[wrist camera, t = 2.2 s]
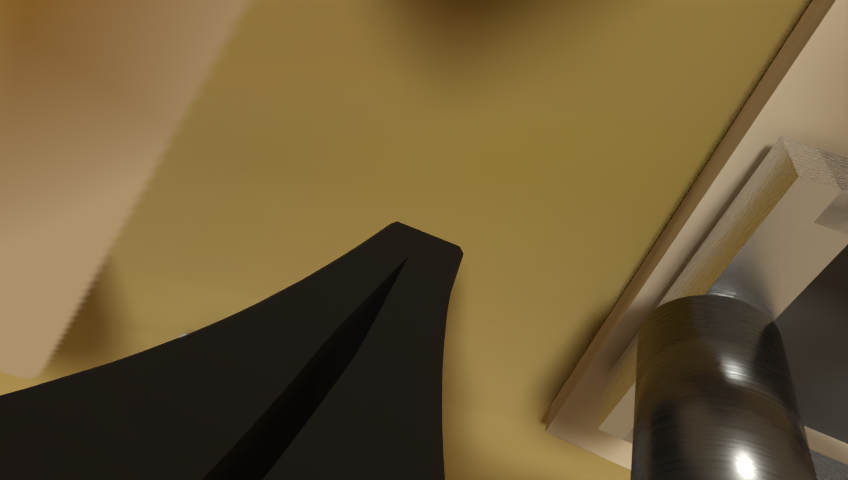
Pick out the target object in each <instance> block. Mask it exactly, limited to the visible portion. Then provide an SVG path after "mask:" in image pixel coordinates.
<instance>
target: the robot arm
mask: <svg viewBox="0 0 848 480" xmlns="http://www.w3.org/2000/svg"><path fill="white" fill-rule="evenodd" d="M462 257H463V252H462V250H461V248H460V246H457V245H455V244H452V243H450V242H447V241H445V240H442V239H440V238H437V237H435V236H432V235H430V234H427V233H425V232H422V231H420V230H417V229H415V228H412V227H410V226H407V225H405V224H402V223H400V222H394V223H392V224H390V225H388V226H387V227H385V228H384V229H382V230H381V231H380V232H378V233H377V234H375V235H374V236H372V237H371V238H369V239H368V240H366V241H365V242H363V243H362V244H360V245H359V246H357V247H356V248H354V249H352V250H351V251H349V252H348V253H346V254H345V255H343V256H341V257H340V258H338V259H336V260H335V261H333V262H331V263H330V264H328V265H326V266H325V267H323V268H321V269H320V270H318V271H316V272H315V273H313V274H311V275H310V276H308V277H306V278H304V279H303V280H301V281H299V282H297V283H295V284H293V285H291V286H289V287H288V288H286V289H284V290H282V291H280V292H278V293H276V294H274V295H272V296H270V297H268V298H267V299H265V300H263V301H261V302H259V303H257V304H255V305H253V306H251V307H249V308H247V309H244V310H242V311H240V312H238V313H236V314H234V315H232V316H229V317H227V318H225V319H223V320H221V321H218V322H216V323H214V324H211V325H209V326H207V327H204V328H202V329H200V330H197V331H195V332H192V333H190V334H182V335H181V336H180V337H179V338H177V339H174V340H172V341H169V342H166V343H164V344H161V345H159V346H156V347H153V348H151V349H148V350H145V351H143V352H140V353H137V354H134V355H131V356H129V357H126V358H123V359H120V360H117V361H114V362H111V363H108V364H105V365H102V366H98V367H95V368H92V369H89V370H85V371H82V372H79V373H75V374H72V375H69V376H66V377H62V378H59V379H56V380H52V381H49V382H46V383H43V384H39V385H36V386H33V387H30V388H26V389H22V390H19V391H15V392H12V393H8V394H4V395H1V396H0V480H445V475H444V460H443V437H442V368H443V349H444V338H445V328H446V318H447V310H448V303H449V298H450V293H451V290H452V287H453V284H454V281H455V278H456V275H457V272H458V269H459V266H460V263H461V260H462Z"/></svg>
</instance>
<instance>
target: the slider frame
mask: <svg viewBox="0 0 848 480" xmlns="http://www.w3.org/2000/svg"><path fill="white" fill-rule="evenodd" d="M847 244H848V158H847V157H844V156H841V155H838V154H835V153H832V152H829V151H826V150H823V149H820V148H817V147H814V146H811V145H808V144H805V143H802V142H799V141H796V140H793V139H790V138H787V137H783V136H780V138H779V139H778V140H777V142H776V143H775V145H774V146H773V147H772V149H771V150H770V151H769V153H768V154H767V156H766V157H765V158H764V160H763V161H762V162H761V164H760V165H759V167H758V168H757V169H756V171H755V172H754V173H753V175H752V176H751V178H750V179H749V180H748V182H747V183H746V185H745V186H744V187H743V189H742V190H741V191H740V193H739V194H738V196H737V197H736V198H735V200H734V201H733V202H732V204H731V205H730V207H729V208H728V209H727V211H726V212H725V213H724V215H723V216H722V218H721V219H720V220H719V222H718V223H717V225H716V226H715V227H714V229H713V230H712V231H711V233H710V234H709V236H708V237H707V238H706V240H705V241H704V242H703V244H702V245H701V247H700V248H699V249H698V251H697V252H696V253H695V255H694V256H693V258H692V259H691V260H690V262H689V263H688V265H687V266H686V267H685V269H684V270H683V271H682V273H681V274H680V276H679V277H678V278H677V280H676V281H675V282H674V284H673V285H672V287H671V288H670V289H669V291H668V292H667V293H666V295H665V296H664V298H663V299H662V300H661V302H660V303H659V305H658V306H657V307H656V309H654V310H653V311H652V312H651V313H650V314H649V315H648V316H647V317H646V318H645V319H644V321H643V322H642V324H641V326H640V329H639V332H638V333H637V335H636V336H635V338H634V339H633V340H632V342H631V343H630V345H629V346H628V347H627V349H626V350H625V351H624V353H623V354H622V356H621V357H620V358H619V360H618V361H617V362H616V364H615V365H614V367H613V368H612V369H611V371H610V372H609V373H608V375H607V376H606V378H605V379H604V380H603V388H602V397H601V406H600V415H599V424H598V429H599V430H602V431H604V432H606V433H609V434H611V435H613V436H615V437H618V438H620V439H622V440H624V441H627V442H629V443H631V444H632V463H631V480H848V465H847V464H844V463H842V462H840V461H837V460H835V459H832V458H830V457H828V456H825V455H823V454H820V453H818V452H816V451H813V450H811V449H810V448H809V444H808V440H807V436H806V432H805V428H804V424H803V420H802V416H801V412H800V408H799V404H798V400H797V396H796V392H795V388H794V384H793V380H792V376H791V372H790V368H789V364H788V361H787V357H786V353H785V349H784V345H783V341H782V337H781V334H780V332H779V330H778V328H777V326H776V325H775V323H774V322H773V321H774V320H775V319H776V318H777V317H778V316H779V315H780V314H781V313H782V312H783V311H784V310H785V309H786V308H787V307H788V306H789V304H790V303H791V302H792V301H793V300H794V299H795V298H796V297H797V296H798V295H799V294H800V293H801V292H802V291H803V290H804V289H805V288H806V287H807V286H808V285H809V284H810V283H811V282H812V281H813V280H814V279H815V278H816V277H817V276H818V274H819V273H820V272H821V271H822V270H823V269H824V268H825V267H826V266H827V265H828V264H829V263H830V262H831V261H832V260H833V259H834V258H835V257H836V256H837V255H838V254H839V253H840V252H841V251H842V250H843V249H844V248H845V247H846V246H847Z"/></svg>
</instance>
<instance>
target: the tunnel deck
mask: <svg viewBox="0 0 848 480" xmlns="http://www.w3.org/2000/svg"><path fill="white" fill-rule="evenodd" d="M780 136H783V137H787V138H790V139H793V140H796V141H799V142H802V143H805V144H808V145H811V146H814V147H817V148H820V149H823V150H826V151H829V152H832V153H835V154H838V155H841V156H844V157H847V158H848V0H812V2H811V3H810V5H809V6H808V8H807V9H806V11H805V13H804V14H803V16H802V17H801V19H800V20H799V22H798V23H797V25H796V26H795V28H794V30H793V31H792V33H791V34H790V36H789V37H788V39H787V40H786V42H785V43H784V45H783V47H782V48H781V50H780V51H779V53H778V54H777V56H776V57H775V59H774V61H773V62H772V64H771V65H770V67H769V68H768V70H767V71H766V73H765V74H764V76H763V78H762V79H761V81H760V82H759V84H758V85H757V87H756V88H755V90H754V91H753V93H752V95H751V96H750V98H749V99H748V101H747V102H746V104H745V105H744V107H743V108H742V110H741V112H740V113H739V115H738V116H737V118H736V119H735V121H734V122H733V124H732V126H731V127H730V129H729V130H728V132H727V133H726V135H725V136H724V138H723V139H722V141H721V143H720V144H719V146H718V147H717V149H716V150H715V152H714V153H713V155H712V156H711V158H710V160H709V161H708V163H707V164H706V166H705V167H704V169H703V170H702V172H701V173H700V175H699V177H698V178H697V180H696V181H695V183H694V184H693V186H692V187H691V189H690V191H689V192H688V194H687V195H686V197H685V198H684V200H683V201H682V203H681V204H680V206H679V208H678V209H677V211H676V212H675V214H674V215H673V217H672V218H671V220H670V221H669V223H668V225H667V226H666V228H665V229H664V231H663V232H662V234H661V235H660V237H659V238H658V240H657V242H656V243H655V245H654V246H653V248H652V249H651V251H650V252H649V254H648V255H647V257H646V259H645V260H644V262H643V263H642V265H641V266H640V268H639V269H638V271H637V273H636V274H635V276H634V277H633V279H632V280H631V282H630V283H629V285H628V286H627V288H626V290H625V291H624V293H623V294H622V296H621V297H620V299H619V300H618V302H617V303H616V305H615V307H614V308H613V310H612V311H611V313H610V314H609V316H608V317H607V319H606V320H605V322H604V324H603V325H602V327H601V328H600V330H599V331H598V333H597V334H596V336H595V338H594V339H593V341H592V342H591V344H590V345H589V347H588V348H587V350H586V351H585V353H584V355H583V356H582V358H581V359H580V361H579V362H578V364H577V365H576V367H575V368H574V370H573V372H572V373H571V375H570V376H569V378H568V379H567V381H566V382H565V384H564V385H563V387H562V389H561V390H560V392H559V393H558V395H557V396H556V398H555V399H554V401H553V403H552V404H551V406H550V410H549V415H548V420H547V425H546V430H545V432H547V433H549V434H551V435H554V436H556V437H558V438H560V439H563V440H565V441H567V442H569V443H572V444H574V445H576V446H578V447H580V448H583V449H585V450H587V451H589V452H592V453H594V454H596V455H598V456H601V457H603V458H605V459H607V460H609V461H612V462H614V463H616V464H618V465H621V466H623V467H625V468H627V469H630V470H631V463H632V444H631V443H629V442H627V441H624V440H622V439H620V438H618V437H615V436H613V435H611V434H609V433H606V432H604V431H602V430H599V429H598V424H599V415H600V406H601V397H602V388H603V380H604V379H605V378H606V376H607V375H608V373H609V372H610V371H611V369H612V368H613V367H614V365H615V364H616V362H617V361H618V360H619V358H620V357H621V356H622V354H623V353H624V351H625V350H626V349H627V347H628V346H629V345H630V343H631V342H632V340H633V339H634V338H635V336H636V335H637V333H638V332H639V329H640V326H641V324H642V322H643V321H644V319H645V318H646V317H647V316H648V315H649V314H650V313H651V312H652V311H653V310H654V309H656V307H657V306H658V305H659V303H660V302H661V300H662V299H663V298H664V296H665V295H666V293H667V292H668V291H669V289H670V288H671V287H672V285H673V284H674V282H675V281H676V280H677V278H678V277H679V276H680V274H681V273H682V271H683V270H684V269H685V267H686V266H687V265H688V263H689V262H690V260H691V259H692V258H693V256H694V255H695V253H696V252H697V251H698V249H699V248H700V247H701V245H702V244H703V242H704V241H705V240H706V238H707V237H708V236H709V234H710V233H711V231H712V230H713V229H714V227H715V226H716V225H717V223H718V222H719V220H720V219H721V218H722V216H723V215H724V213H725V212H726V211H727V209H728V208H729V207H730V205H731V204H732V202H733V201H734V200H735V198H736V197H737V196H738V194H739V193H740V191H741V190H742V189H743V187H744V186H745V185H746V183H747V182H748V180H749V179H750V178H751V176H752V175H753V173H754V172H755V171H756V169H757V168H758V167H759V165H760V164H761V162H762V161H763V160H764V158H765V157H766V156H767V154H768V153H769V151H770V150H771V149H772V147H773V146H774V145H775V143H776V142H777V140H778V139H779V138H780ZM773 322H774V323H775V325H776V326H777V328H778V330H779V332H780V334H781V337H782V341H783V345H784V349H785V353H786V357H787V361H788V364H789V368H790V372H791V376H792V380H793V384H794V388H795V392H796V396H797V400H798V404H799V408H800V412H801V416H802V420H803V424H804V428H805V432H806V436H807V440H808V444H809V448H810V449H811V450H813V451H816V452H818V453H820V454H823V455H825V456H828V457H830V458H832V459H835V460H837V461H840V462H842V463H844V464H847V465H848V244H847V246H846V247H845V248H844V249H843V250H842V251H841V252H840V253H839V254H838V255H837V256H836V257H835V258H834V259H833V260H832V261H831V262H830V263H829V264H828V265H827V266H826V267H825V268H824V269H823V270H822V271H821V272H820V273H819V274H818V276H817V277H816V278H815V279H814V280H813V281H812V282H811V283H810V284H809V285H808V286H807V287H806V288H805V289H804V290H803V291H802V292H801V293H800V294H799V295H798V296H797V297H796V298H795V299H794V300H793V301H792V302H791V303H790V304H789V306H788V307H787V308H786V309H785V310H784V311H783V312H782V313H781V314H780V315H779V316H778V317H777V318H776V319H775V320H774V321H773Z"/></svg>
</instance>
